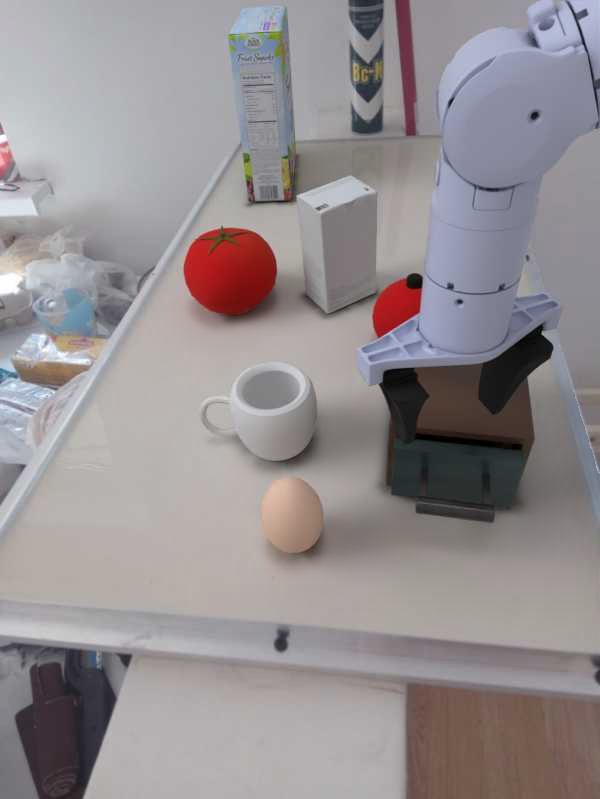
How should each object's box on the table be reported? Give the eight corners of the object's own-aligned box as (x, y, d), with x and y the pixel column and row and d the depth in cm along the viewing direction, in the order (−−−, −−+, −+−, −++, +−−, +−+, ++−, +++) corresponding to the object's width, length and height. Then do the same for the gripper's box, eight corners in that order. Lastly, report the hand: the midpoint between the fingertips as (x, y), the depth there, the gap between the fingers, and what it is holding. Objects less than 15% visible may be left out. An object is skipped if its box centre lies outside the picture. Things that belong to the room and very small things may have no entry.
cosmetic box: (352, 276, 78) (351, 172, 67) (378, 295, 74) (381, 188, 64) (302, 296, 75) (293, 191, 65) (326, 317, 71) (320, 209, 61)
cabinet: (513, 501, 49) (535, 439, 43) (385, 485, 52) (389, 424, 46) (505, 397, 59) (522, 334, 53) (397, 387, 61) (401, 326, 55)
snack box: (296, 202, 96) (281, 29, 78) (247, 205, 97) (222, 35, 79) (299, 154, 111) (288, 1, 93) (257, 157, 112) (238, 6, 94)
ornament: (457, 335, 67) (468, 263, 60) (432, 381, 61) (441, 308, 54) (388, 318, 70) (392, 248, 63) (359, 359, 65) (359, 288, 58)
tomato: (181, 298, 77) (163, 229, 70) (258, 270, 81) (248, 202, 73) (212, 339, 70) (194, 267, 63) (294, 307, 74) (287, 235, 66)
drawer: (512, 554, 45) (531, 507, 40) (386, 536, 47) (389, 489, 42) (502, 409, 56) (516, 359, 52) (401, 399, 58) (405, 351, 54)
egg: (337, 548, 47) (334, 493, 42) (284, 579, 46) (274, 525, 40) (306, 505, 51) (299, 449, 45) (256, 533, 49) (242, 477, 43)
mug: (321, 411, 59) (317, 356, 54) (317, 473, 53) (313, 418, 48) (213, 411, 61) (199, 357, 55) (198, 471, 55) (180, 418, 49)
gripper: (532, 214, 37) (496, 363, 47) (336, 265, 34) (341, 413, 44) (607, 263, 32) (550, 418, 42) (386, 327, 30) (379, 478, 39)
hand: (446, 420), depth 43 cm, fingers open, 7 cm apart
